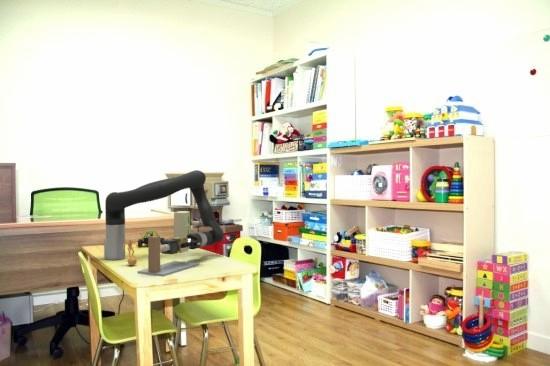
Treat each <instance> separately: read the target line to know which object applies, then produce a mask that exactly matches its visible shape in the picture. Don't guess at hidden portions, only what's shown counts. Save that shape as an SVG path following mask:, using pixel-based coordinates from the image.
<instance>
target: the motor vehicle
mask: <svg viewBox="0 0 550 366" xmlns="http://www.w3.org/2000/svg"><path fill="white" fill-rule="evenodd" d="M154 232H155V233H154ZM155 234H156V235H155ZM151 236H158V237H160V244H161V241H162V240H166V239H165V237H161V235H159V234H158V232H156V230H147V231H145V233H144V235H143V237H142V238H139V239H138V240H137V245H138V247H139V248H142V247H143V244H144V245H148V237H151ZM138 247H137V248H138Z"/></svg>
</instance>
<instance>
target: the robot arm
mask: <svg viewBox="0 0 550 366" xmlns="http://www.w3.org/2000/svg"><path fill="white" fill-rule="evenodd" d="M206 178H207V177H206V174H205V173H204V172H203V171H202V170H196V169H195V170H191V171H189V172H187V173H183V174H182V175H179V176H173V177H169V178H164V179H160V180H156V181H151V182H149V183H145V184H144V185H141V186H139V187H137V188H135V189H134V188H133V189H132V190H131V189H130V190H125V191H120V192H118V191H117V192H116V191H115V192H110V193H108V195H107V196H106V198H105V205H104V206H105V211H104V212H105V238H104V240H103V250H104V251H103V255H104V257H103V258H104V259H106V260H109V261H113V260H114V261H115V260H123V259H126V245H124V244H125V243H126V215H125V214H126V211H125V210H126V208H129V207H132V206H133V205H137V204H142V203H149V202H152V201H156V200H160V199H164V198H167V197H169V196H171V195H174V194H176V193H177V192H180V191H182V190H186V189H190V191H191V194H192V195H193V198H194V200H195V203H196V206H197V209H198V213H199V216H200V219H201V223H202V225H203V227H205V228H207V227H210V228H211V230H208V231H201V232H194V233H190V234H189V235H187V236H186V237H188V242H186V243H182V244H181V248H186V247H188V250H195V249H200V248H202V247H206V246H211V245H214V244H216V243H219V242H222V241H223V240H224V238H225V234H224V230H223V228H221V226H220V225H219V223H218V222H217V220H216V216H215V213H214V210H213V208H212V205H211V204H210V202H209V200H208V198H207V195H206V191H205V186H204V185H205V183H206ZM123 245H124V248H123ZM122 249H124V250H123V251H122Z"/></svg>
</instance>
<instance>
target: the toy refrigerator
mask: <svg viewBox="0 0 550 366" xmlns="http://www.w3.org/2000/svg"><path fill="white" fill-rule="evenodd" d="M190 222H191V212H190V211H187V210H186V211H184V210H183V211H182V210H181V211H180V210H178V211H174V212H173V237H186V236H187V235H189V234H191V230H190V229H191V223H190Z"/></svg>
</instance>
